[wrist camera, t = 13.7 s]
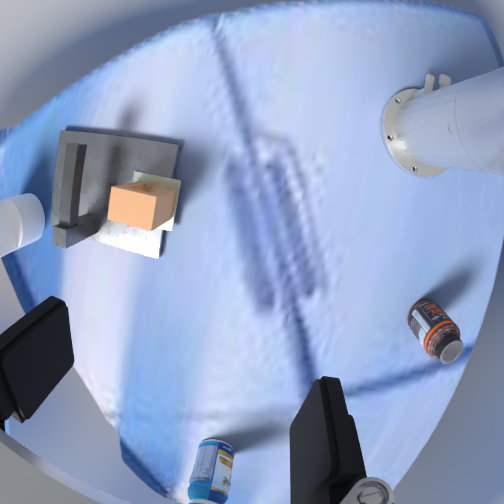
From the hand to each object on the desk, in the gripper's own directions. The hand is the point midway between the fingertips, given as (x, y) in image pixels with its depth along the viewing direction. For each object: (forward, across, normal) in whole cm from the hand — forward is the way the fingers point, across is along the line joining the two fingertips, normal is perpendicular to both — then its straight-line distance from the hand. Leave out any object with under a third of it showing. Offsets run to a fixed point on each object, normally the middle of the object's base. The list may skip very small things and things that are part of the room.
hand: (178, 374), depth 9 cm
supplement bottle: (+31, -31, +8) cm, 44 cm away
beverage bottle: (+31, -5, +52) cm, 60 cm away
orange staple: (+29, +13, +1) cm, 32 cm away
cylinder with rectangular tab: (+31, +39, +9) cm, 50 cm away
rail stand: (+30, +21, +1) cm, 37 cm away
